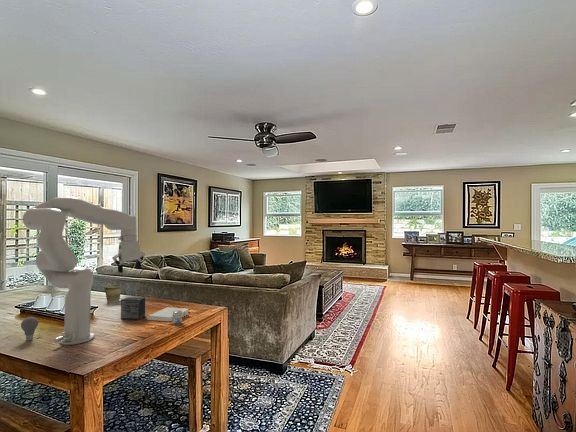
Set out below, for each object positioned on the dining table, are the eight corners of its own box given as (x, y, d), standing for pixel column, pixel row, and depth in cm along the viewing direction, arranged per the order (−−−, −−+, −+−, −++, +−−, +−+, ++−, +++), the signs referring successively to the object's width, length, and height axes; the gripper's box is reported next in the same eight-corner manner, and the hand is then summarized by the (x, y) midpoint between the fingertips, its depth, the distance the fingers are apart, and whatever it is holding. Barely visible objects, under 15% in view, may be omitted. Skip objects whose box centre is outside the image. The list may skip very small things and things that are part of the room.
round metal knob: (178, 325, 162) (178, 313, 162) (170, 324, 163) (170, 312, 163) (183, 322, 167) (183, 310, 167) (175, 321, 168) (175, 310, 168)
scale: (175, 322, 167) (175, 316, 167) (146, 319, 171) (146, 314, 171) (193, 312, 185) (193, 307, 185) (167, 310, 189) (167, 305, 189)
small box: (146, 316, 177) (146, 297, 177) (139, 320, 170) (139, 300, 171) (127, 316, 178) (127, 296, 178) (120, 319, 171) (120, 299, 172)
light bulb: (36, 336, 146) (36, 314, 146) (40, 339, 142) (40, 316, 143) (19, 340, 142) (19, 317, 142) (22, 343, 138) (22, 320, 138)
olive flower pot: (117, 303, 204) (117, 287, 204) (101, 303, 204) (101, 287, 204) (127, 298, 217) (127, 283, 217) (111, 298, 217) (112, 283, 217)
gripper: (116, 240, 163) (117, 274, 163) (148, 237, 177) (148, 268, 177) (108, 239, 167) (109, 272, 168) (140, 236, 181) (141, 267, 182)
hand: (129, 270), depth 173 cm, fingers open, 9 cm apart
